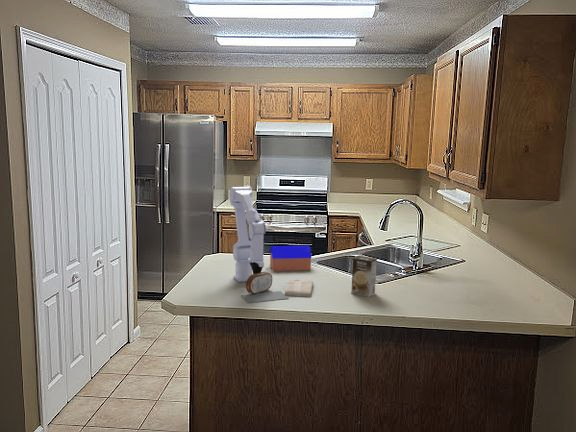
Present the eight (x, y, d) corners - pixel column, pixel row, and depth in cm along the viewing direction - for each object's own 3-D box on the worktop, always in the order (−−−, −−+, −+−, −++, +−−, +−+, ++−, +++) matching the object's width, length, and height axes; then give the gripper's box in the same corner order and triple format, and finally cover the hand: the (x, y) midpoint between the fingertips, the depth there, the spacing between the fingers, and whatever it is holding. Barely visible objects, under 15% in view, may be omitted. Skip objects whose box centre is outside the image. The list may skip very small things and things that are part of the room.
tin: (268, 287, 231) (268, 269, 230) (273, 289, 229) (273, 270, 228) (245, 295, 220) (245, 275, 219) (250, 296, 218) (250, 276, 217)
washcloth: (313, 285, 238) (313, 279, 237) (311, 298, 220) (312, 291, 220) (287, 284, 239) (288, 278, 238) (284, 296, 221) (284, 290, 221)
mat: (241, 295, 220) (241, 295, 220) (280, 291, 226) (280, 291, 226) (247, 303, 211) (247, 302, 211) (288, 298, 217) (288, 298, 217)
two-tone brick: (269, 265, 270) (269, 243, 268) (306, 264, 273) (307, 242, 271) (272, 271, 258) (272, 249, 256) (311, 270, 262) (311, 248, 260)
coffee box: (350, 293, 226) (351, 257, 223) (356, 289, 231) (358, 255, 228) (369, 297, 221) (371, 261, 218) (375, 293, 226) (377, 258, 223)
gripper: (243, 245, 231) (243, 274, 234) (253, 253, 218) (252, 284, 220) (258, 244, 234) (258, 273, 236) (268, 252, 220) (268, 282, 223)
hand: (256, 278), depth 228 cm, fingers closed
